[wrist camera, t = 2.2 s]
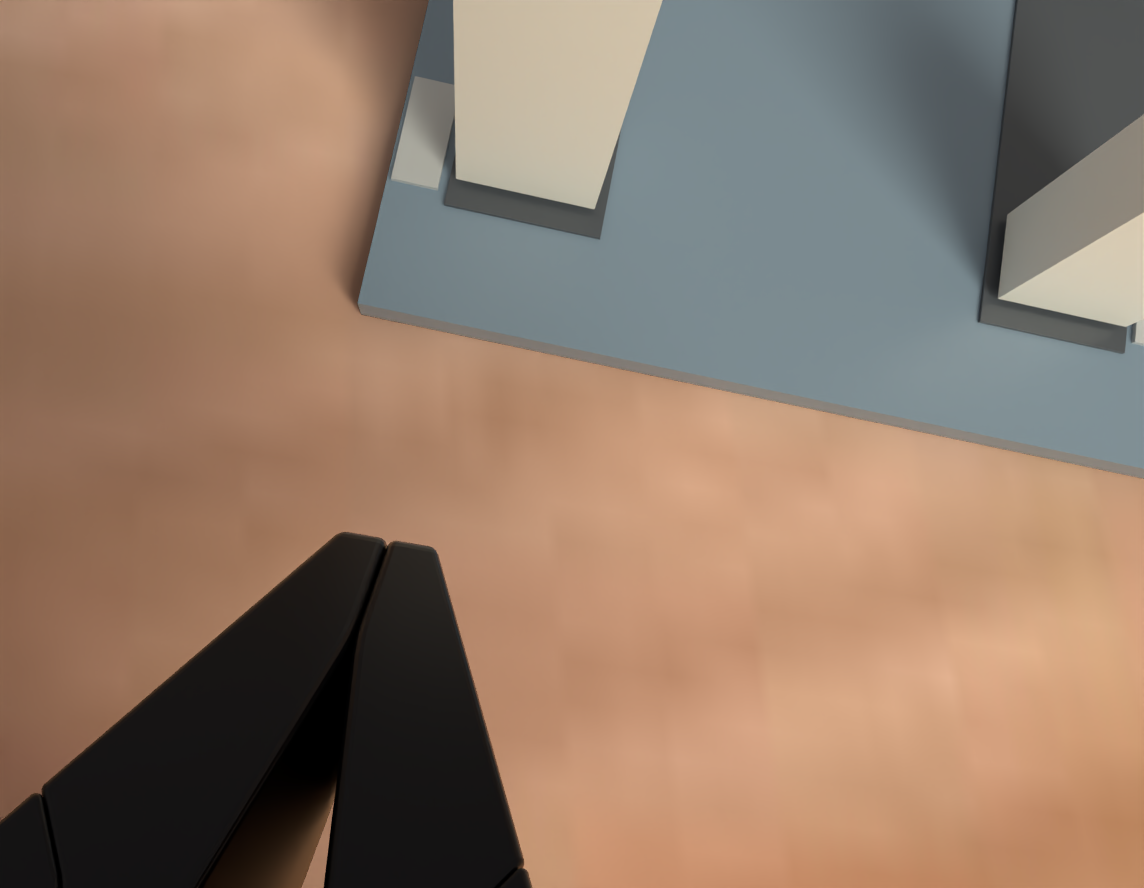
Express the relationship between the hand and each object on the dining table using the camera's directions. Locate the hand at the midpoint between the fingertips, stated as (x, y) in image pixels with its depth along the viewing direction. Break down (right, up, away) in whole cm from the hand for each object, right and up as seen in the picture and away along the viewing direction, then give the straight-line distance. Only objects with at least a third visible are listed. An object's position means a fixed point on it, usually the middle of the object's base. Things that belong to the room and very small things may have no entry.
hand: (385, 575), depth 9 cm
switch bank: (+7, +8, +15) cm, 18 cm away
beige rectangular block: (+1, +7, +13) cm, 15 cm away
